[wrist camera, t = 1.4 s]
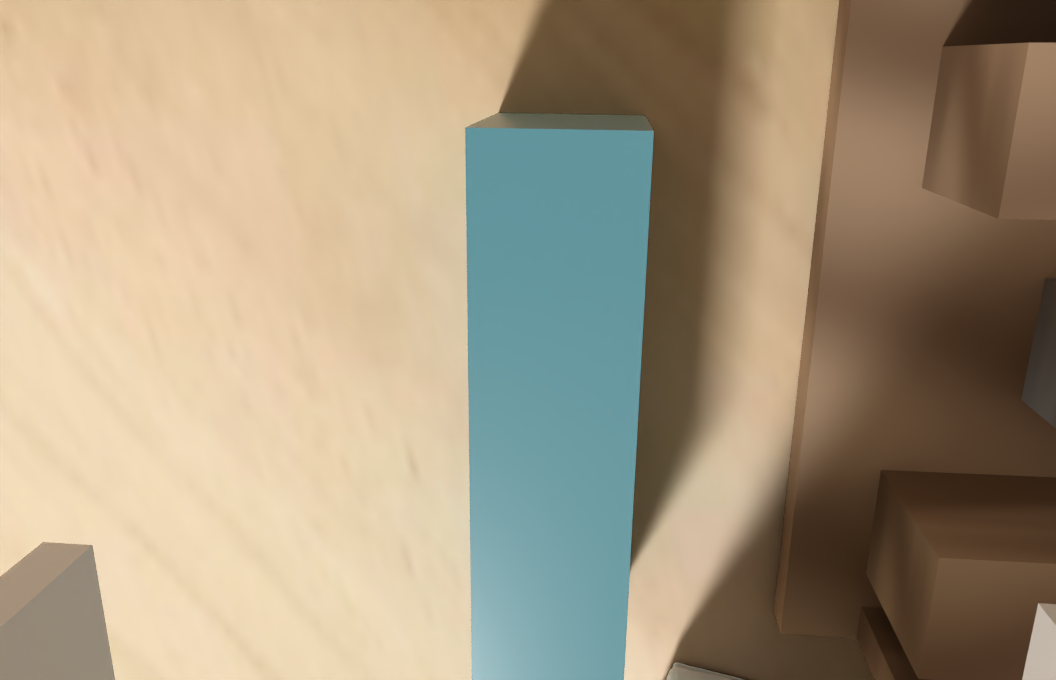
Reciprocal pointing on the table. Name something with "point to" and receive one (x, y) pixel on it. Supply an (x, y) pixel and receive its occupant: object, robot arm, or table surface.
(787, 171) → the table surface
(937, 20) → the cradle
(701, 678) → the tea box
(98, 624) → the robot arm
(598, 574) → the long teal rectangular block
